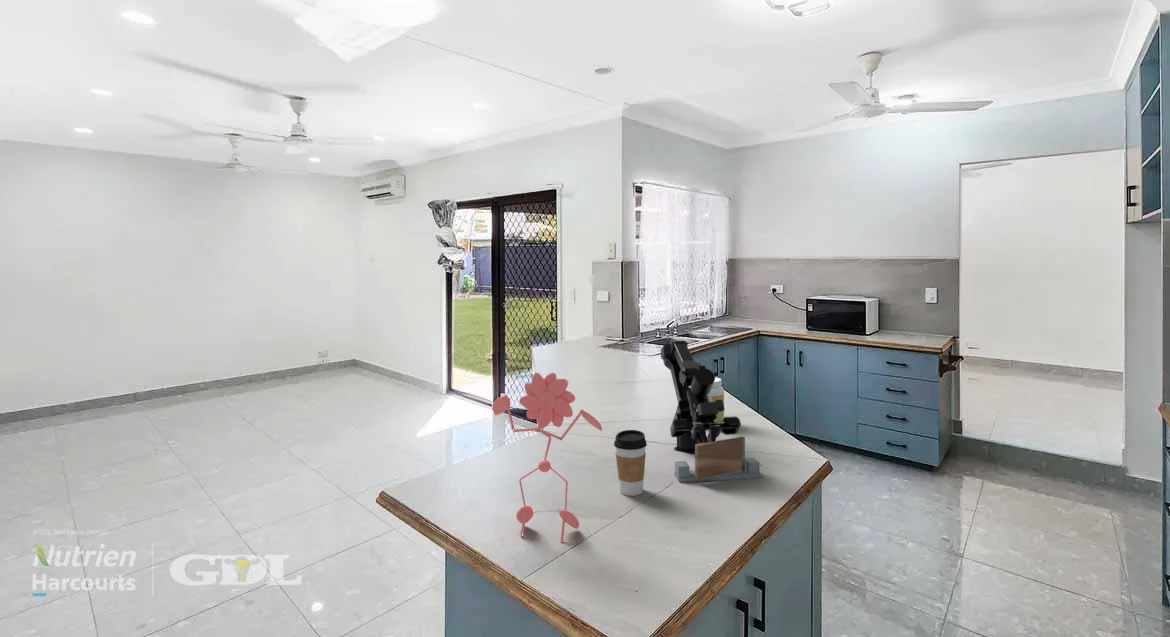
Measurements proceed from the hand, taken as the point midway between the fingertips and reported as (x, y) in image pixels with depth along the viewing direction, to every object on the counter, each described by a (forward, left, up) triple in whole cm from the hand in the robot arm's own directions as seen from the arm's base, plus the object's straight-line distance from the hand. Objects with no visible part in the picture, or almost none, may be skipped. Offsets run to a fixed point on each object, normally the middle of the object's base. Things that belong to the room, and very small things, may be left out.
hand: (711, 455), depth 146 cm
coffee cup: (-13, -20, -7) cm, 24 cm away
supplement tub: (-26, +44, -7) cm, 52 cm away
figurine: (-16, -46, -7) cm, 49 cm away
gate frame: (0, +3, -7) cm, 7 cm away
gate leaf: (+2, +2, -5) cm, 6 cm away
